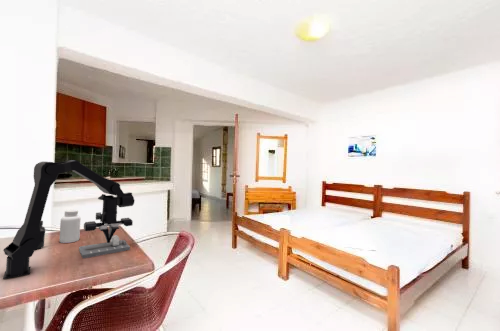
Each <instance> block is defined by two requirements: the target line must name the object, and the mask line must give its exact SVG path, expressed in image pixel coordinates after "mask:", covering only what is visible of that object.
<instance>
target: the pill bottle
mask: <svg viewBox="0 0 500 331" xmlns="http://www.w3.org/2000/svg"><path fill="white" fill-rule="evenodd" d="M78 213H79V211H78V210H77V209H68V210H67V209H66V210H64V216H61V218H60V223H59V225H60V226H59V227H60V228H59V239H58V240H59V243H61V244H67V243H74V242H75V243H76V242H78V241H79V240H80V235H81V234H80V233H81V216H80V215H78Z"/></svg>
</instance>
